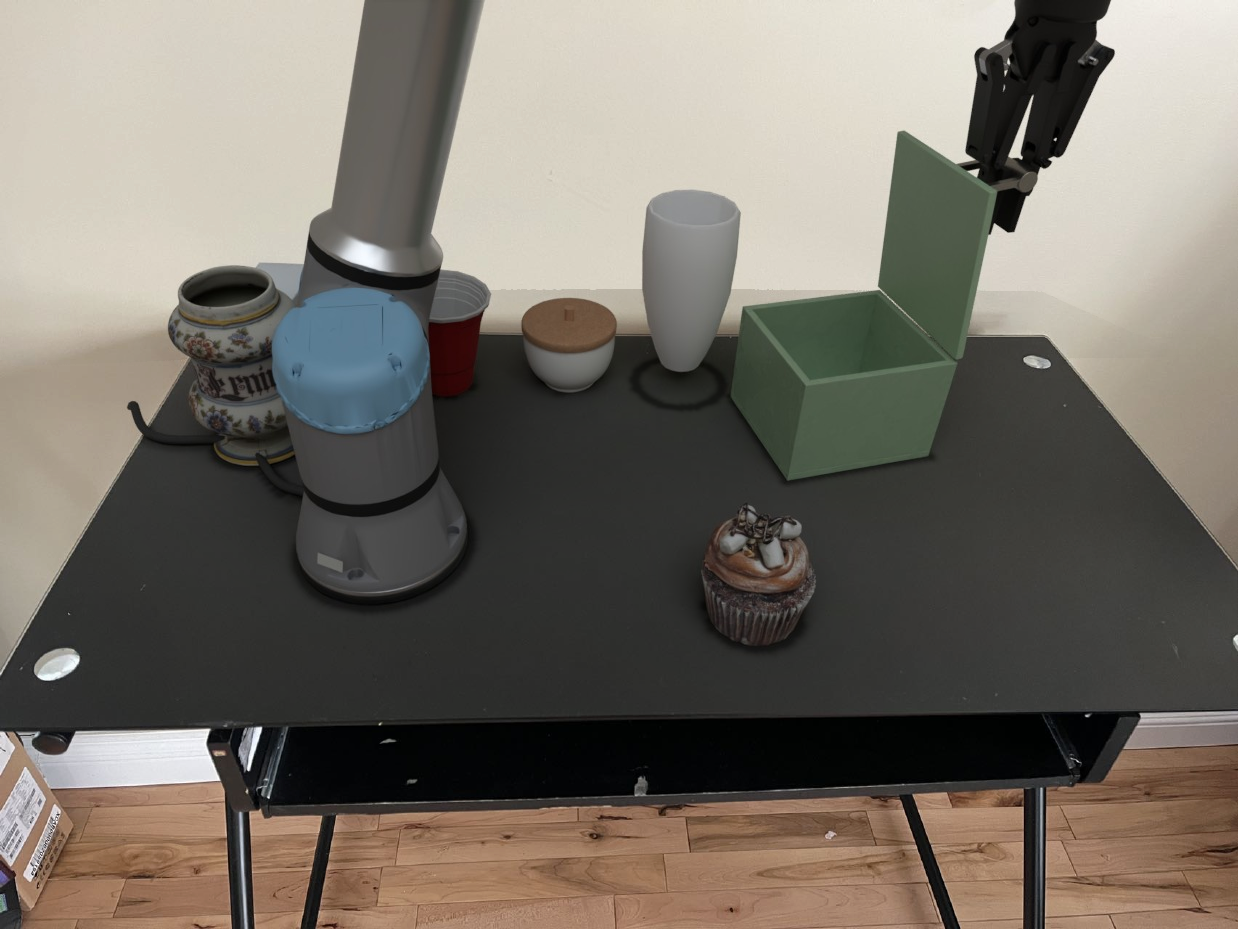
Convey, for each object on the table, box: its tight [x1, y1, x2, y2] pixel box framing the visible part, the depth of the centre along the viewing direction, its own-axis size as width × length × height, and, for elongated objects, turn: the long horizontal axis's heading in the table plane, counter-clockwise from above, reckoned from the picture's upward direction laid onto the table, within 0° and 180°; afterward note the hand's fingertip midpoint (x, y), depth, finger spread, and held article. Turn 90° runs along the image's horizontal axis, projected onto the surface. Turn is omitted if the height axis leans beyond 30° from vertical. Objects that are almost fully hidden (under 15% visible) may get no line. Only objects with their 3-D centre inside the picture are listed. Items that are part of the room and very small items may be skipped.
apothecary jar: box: [167, 264, 297, 467], centre depth 90 cm, size 12×12×18 cm
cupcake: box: [700, 502, 817, 647], centre depth 76 cm, size 10×10×10 cm
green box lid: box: [877, 130, 1039, 361], centre depth 90 cm, size 17×16×9 cm
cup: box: [641, 189, 742, 373], centre depth 100 cm, size 10×10×22 cm
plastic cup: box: [428, 268, 492, 397], centre depth 101 cm, size 11×11×12 cm
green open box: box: [730, 289, 958, 481], centre depth 97 cm, size 17×16×12 cm
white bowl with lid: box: [520, 297, 618, 393], centre depth 104 cm, size 11×11×9 cm
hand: (991, 227), depth 90 cm, fingers closed on green box lid, 2 cm apart
